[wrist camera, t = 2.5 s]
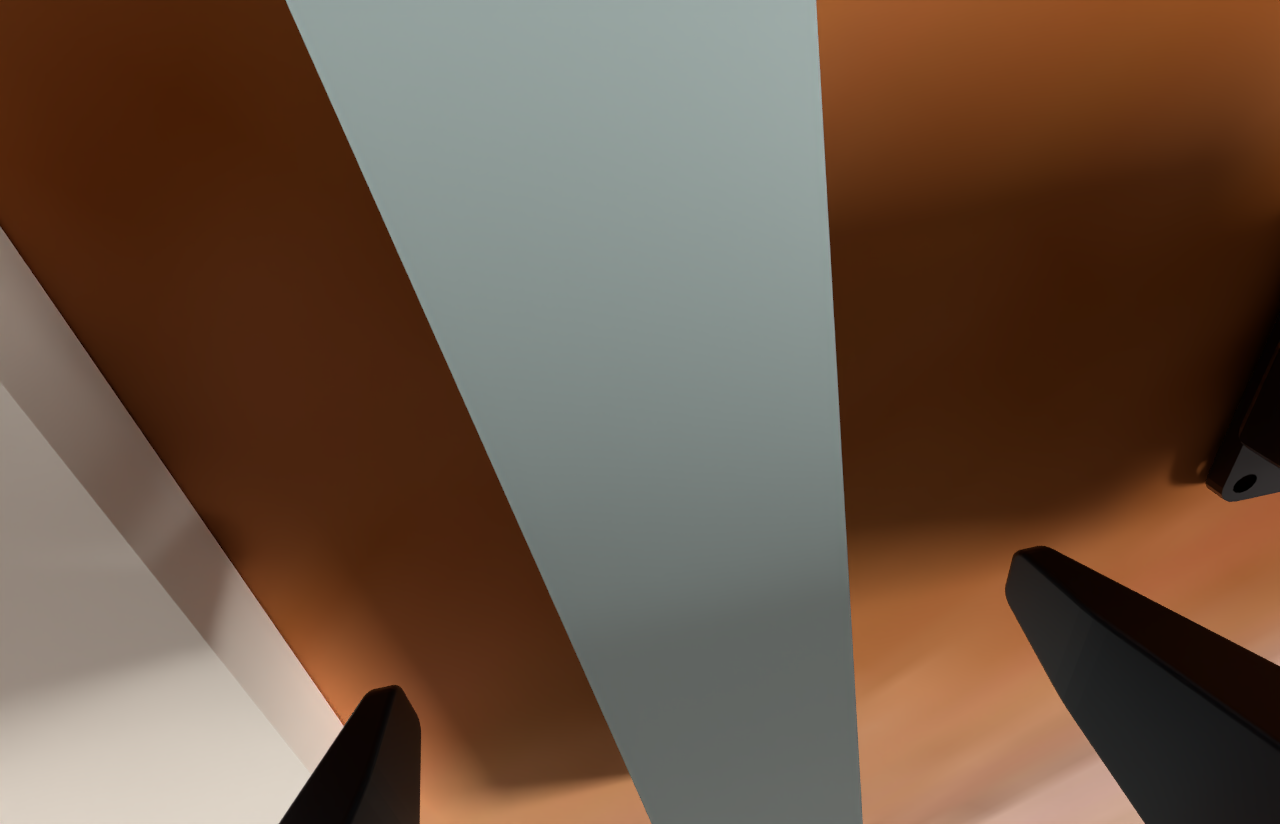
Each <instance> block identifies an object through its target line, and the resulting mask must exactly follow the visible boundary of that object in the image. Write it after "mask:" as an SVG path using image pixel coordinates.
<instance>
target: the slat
mask: <svg viewBox="0 0 1280 824" xmlns="http://www.w3.org/2000/svg"><path fill="white" fill-rule="evenodd" d="M286 2H287V5H288V7H289V9H290V11H291V14H292V16H293V18H294V20H295V23H296V25H297V27H298V29H299V32H300V34H301V36H302V38H303V41H304V43H305V45H306V47H307V50H308V52H309V54H310V56H311V59H312V61H313V63H314V65H315V68H316V70H317V72H318V74H319V77H320V79H321V81H322V83H323V85H324V88H325V90H326V92H327V94H328V97H329V99H330V101H331V103H332V106H333V108H334V110H335V112H336V115H337V117H338V119H339V121H340V124H341V126H342V128H343V130H344V133H345V135H346V137H347V139H348V142H349V144H350V146H351V148H352V151H353V153H354V155H355V157H356V160H357V162H358V164H359V166H360V169H361V171H362V173H363V175H364V178H365V180H366V182H367V184H368V187H369V189H370V191H371V193H372V196H373V198H374V200H375V202H376V205H377V207H378V209H379V211H380V214H381V216H382V218H383V220H384V223H385V225H386V227H387V229H388V232H389V234H390V236H391V238H392V241H393V243H394V245H395V247H396V250H397V252H398V254H399V256H400V259H401V261H402V263H403V265H404V268H405V270H406V272H407V274H408V277H409V279H410V281H411V283H412V286H413V288H414V290H415V292H416V295H417V297H418V299H419V301H420V304H421V306H422V308H423V310H424V313H425V315H426V317H427V319H428V322H429V324H430V326H431V328H432V331H433V333H434V335H435V337H436V340H437V342H438V344H439V346H440V349H441V351H442V353H443V355H444V358H445V360H446V362H447V364H448V367H449V369H450V371H451V373H452V376H453V378H454V380H455V382H456V385H457V387H458V389H459V391H460V394H461V396H462V398H463V400H464V403H465V405H466V407H467V409H468V412H469V414H470V416H471V418H472V421H473V423H474V425H475V427H476V430H477V432H478V434H479V436H480V439H481V441H482V443H483V445H484V448H485V450H486V452H487V454H488V456H489V459H490V461H491V463H492V465H493V468H494V470H495V472H496V474H497V477H498V479H499V481H500V483H501V486H502V488H503V490H504V492H505V495H506V497H507V499H508V501H509V504H510V506H511V508H512V510H513V513H514V515H515V517H516V519H517V522H518V524H519V526H520V528H521V531H522V533H523V535H524V537H525V540H526V542H527V544H528V546H529V549H530V551H531V553H532V555H533V558H534V560H535V562H536V564H537V567H538V569H539V571H540V573H541V576H542V578H543V580H544V582H545V585H546V587H547V589H548V591H549V594H550V596H551V598H552V600H553V603H554V605H555V607H556V609H557V612H558V614H559V616H560V618H561V621H562V623H563V625H564V627H565V630H566V632H567V634H568V636H569V639H570V641H571V643H572V645H573V648H574V650H575V652H576V654H577V657H578V659H579V661H580V663H581V666H582V668H583V670H584V672H585V675H586V677H587V679H588V681H589V684H590V686H591V688H592V690H593V693H594V695H595V697H596V699H597V702H598V704H599V706H600V708H601V711H602V713H603V715H604V717H605V720H606V722H607V724H608V726H609V729H610V731H611V733H612V735H613V738H614V740H615V742H616V744H617V747H618V749H619V751H620V753H621V756H622V758H623V760H624V762H625V765H626V767H627V769H628V771H629V774H630V776H631V778H632V780H633V783H634V785H635V787H636V789H637V792H638V794H639V796H640V798H641V801H642V803H643V805H644V807H645V810H646V812H647V814H648V816H649V818H650V821H651V823H652V824H863V821H862V803H861V785H860V768H859V750H858V732H857V715H856V697H855V680H854V662H853V644H852V627H851V609H850V591H849V574H848V556H847V538H846V521H845V503H844V485H843V468H842V450H841V433H840V415H839V397H838V380H837V362H836V344H835V327H834V309H833V291H832V274H831V256H830V239H829V221H828V203H827V186H826V168H825V150H824V133H823V115H822V97H821V80H820V62H819V44H818V27H817V9H816V0H286Z"/></svg>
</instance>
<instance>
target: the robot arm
mask: <svg viewBox="0 0 1280 824" xmlns="http://www.w3.org/2000/svg"><path fill="white" fill-rule="evenodd" d="M1206 486H1207V488H1208V489H1210V490H1211V491H1213V492H1214V493H1215V494H1217V495H1218V496H1220V497H1221V498H1222V499H1224V500H1226V501H1228V502H1232V501H1240V500H1245V499H1249V498H1254V497H1258V496H1263V495H1268V494H1272V493H1277V492H1280V312H1279V314H1278V317H1277V319H1276V321H1275V324H1274V326H1273V328H1272V330H1271V333H1270V335H1269V337H1268V339H1267V342H1266V344H1265V346H1264V348H1263V351H1262V353H1261V355H1260V357H1259V360H1258V362H1257V364H1256V367H1255V369H1254V371H1253V373H1252V376H1251V378H1250V380H1249V382H1248V385H1247V387H1246V389H1245V391H1244V394H1243V396H1242V398H1241V401H1240V403H1239V405H1238V407H1237V410H1236V412H1235V414H1234V416H1233V419H1232V421H1231V423H1230V425H1229V428H1228V430H1227V432H1226V435H1225V437H1224V439H1223V441H1222V444H1221V446H1220V448H1219V450H1218V453H1217V455H1216V457H1215V459H1214V462H1213V464H1212V466H1211V468H1210V471H1209V473H1208V475H1207V478H1206ZM1005 594H1006V598H1007V601H1008V604H1009V606H1010V608H1011V609H1012V611H1013V613H1014V615H1015V617H1016V619H1017V620H1018V622H1019V624H1020V626H1021V628H1022V630H1023V631H1024V633H1025V635H1026V637H1027V639H1028V641H1029V642H1030V644H1031V646H1032V648H1033V650H1034V652H1035V653H1036V655H1037V657H1038V659H1039V661H1040V663H1041V664H1042V666H1043V668H1044V670H1045V672H1046V674H1047V675H1048V677H1049V679H1050V681H1051V683H1052V685H1053V686H1054V688H1055V690H1056V691H1057V693H1058V695H1059V697H1060V698H1061V700H1062V702H1063V703H1064V705H1065V706H1066V708H1067V709H1068V711H1069V712H1070V714H1071V716H1072V717H1073V719H1074V720H1075V721H1076V723H1077V724H1078V726H1079V727H1080V729H1081V730H1082V732H1083V733H1084V735H1085V736H1086V738H1087V739H1088V741H1089V742H1090V744H1091V745H1092V746H1093V748H1094V749H1095V751H1096V752H1097V754H1098V755H1099V757H1100V758H1101V760H1102V761H1103V763H1104V764H1105V766H1106V767H1107V768H1108V770H1109V771H1110V773H1111V774H1112V776H1113V777H1114V779H1115V780H1116V782H1117V783H1118V785H1119V786H1120V788H1121V789H1122V791H1123V792H1124V793H1125V795H1126V796H1127V798H1128V799H1129V801H1130V802H1131V804H1132V805H1133V807H1134V808H1135V810H1136V811H1137V813H1138V814H1139V816H1140V817H1141V818H1142V820H1143V821H1144V823H1145V824H1280V666H1278V665H1276V664H1274V663H1272V662H1270V661H1268V660H1267V659H1265V658H1263V657H1261V656H1259V655H1257V654H1255V653H1253V652H1251V651H1249V650H1247V649H1245V648H1243V647H1241V646H1239V645H1237V644H1236V643H1234V642H1232V641H1230V640H1228V639H1226V638H1224V637H1222V636H1220V635H1218V634H1216V633H1214V632H1212V631H1210V630H1208V629H1207V628H1205V627H1203V626H1201V625H1199V624H1197V623H1195V622H1193V621H1191V620H1189V619H1187V618H1185V617H1183V616H1181V615H1179V614H1178V613H1176V612H1174V611H1172V610H1170V609H1168V608H1166V607H1164V606H1162V605H1160V604H1158V603H1156V602H1154V601H1152V600H1150V599H1148V598H1147V597H1145V596H1143V595H1141V594H1139V593H1137V592H1135V591H1133V590H1131V589H1129V588H1127V587H1125V586H1123V585H1121V584H1119V583H1118V582H1116V581H1114V580H1112V579H1110V578H1108V577H1106V576H1104V575H1102V574H1100V573H1098V572H1096V571H1094V570H1092V569H1090V568H1089V567H1087V566H1085V565H1083V564H1081V563H1079V562H1077V561H1075V560H1073V559H1071V558H1069V557H1067V556H1065V555H1063V554H1061V553H1060V552H1058V551H1056V550H1054V549H1052V548H1049V547H1046V546H1036V547H1031V548H1027V549H1022V550H1018V551H1017V552H1016V553H1015V554H1014V555H1013V558H1012V562H1011V566H1010V570H1009V574H1008V578H1007V582H1006V586H1005ZM420 765H421V727H420V722H419V718H418V716H417V714H416V712H415V710H414V709H413V707H412V705H411V703H410V702H409V700H408V698H407V696H406V695H405V693H404V691H403V690H402V688H401V687H399V686H398V685H391V686H386V687H382V688H377V689H373V690H371V691H369V692H368V693H367V694H366V695H365V696H364V697H363V699H362V700H361V702H360V703H359V704H358V706H357V707H356V709H355V710H354V712H353V713H352V715H351V716H350V718H349V719H348V721H347V722H346V724H345V725H344V727H343V728H342V730H341V731H340V733H339V734H338V736H337V737H336V739H335V740H334V742H333V743H332V745H331V746H330V748H329V749H328V751H327V752H326V754H325V755H324V757H323V758H322V760H321V761H320V763H319V764H318V766H317V767H316V769H315V770H314V772H313V773H312V775H311V776H310V778H309V779H308V780H307V782H306V783H305V785H304V786H303V788H302V789H301V791H300V792H299V794H298V795H297V797H296V798H295V800H294V801H293V803H292V804H291V806H290V807H289V809H288V810H287V812H286V813H285V815H284V816H283V818H282V819H281V821H280V822H279V824H420Z"/></svg>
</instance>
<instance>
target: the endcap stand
mask: <svg viewBox="0 0 1280 824" xmlns="http://www.w3.org/2000/svg"><path fill="white" fill-rule="evenodd" d="M343 727H344V726H343V724H342V723H341V722H340V720H339V719H338V717H337V716H336V714H335V713H334V711H333V710H332V708H331V707H330V706H329V704H328V703H327V701H326V700H325V698H324V697H323V695H322V694H321V692H320V691H319V690H318V688H317V687H316V685H315V684H314V682H313V681H312V679H311V678H310V676H309V675H308V674H307V672H306V671H305V669H304V668H303V666H302V665H301V663H300V662H299V660H298V659H297V658H296V656H295V655H294V653H293V652H292V650H291V649H290V647H289V646H288V644H287V643H286V642H285V640H284V639H283V637H282V636H281V634H280V633H279V631H278V630H277V628H276V627H275V626H274V624H273V623H272V621H271V620H270V618H269V617H268V615H267V614H266V612H265V611H264V610H263V608H262V607H261V605H260V604H259V602H258V601H257V599H256V598H255V596H254V595H253V593H252V592H251V591H250V589H249V588H248V586H247V585H246V583H245V582H244V580H243V579H242V577H241V576H240V575H239V573H238V572H237V570H236V569H235V567H234V566H233V564H232V563H231V561H230V560H229V559H228V557H227V556H226V554H225V553H224V551H223V550H222V548H221V547H220V545H219V544H218V543H217V541H216V540H215V538H214V537H213V535H212V534H211V532H210V531H209V529H208V528H207V527H206V525H205V524H204V522H203V521H202V519H201V518H200V516H199V515H198V513H197V512H196V511H195V509H194V508H193V506H192V505H191V503H190V502H189V500H188V499H187V497H186V496H185V495H184V493H183V492H182V490H181V489H180V487H179V486H178V484H177V483H176V481H175V480H174V479H173V477H172V476H171V474H170V473H169V471H168V470H167V468H166V467H165V465H164V464H163V462H162V461H161V460H160V458H159V457H158V455H157V454H156V452H155V451H154V449H153V448H152V446H151V445H150V444H149V442H148V441H147V439H146V438H145V436H144V435H143V433H142V432H141V430H140V429H139V428H138V426H137V425H136V423H135V422H134V420H133V419H132V417H131V416H130V414H129V413H128V412H127V410H126V409H125V407H124V406H123V404H122V403H121V401H120V400H119V398H118V397H117V396H116V394H115V393H114V391H113V390H112V388H111V387H110V385H109V384H108V382H107V381H106V380H105V378H104V377H103V375H102V374H101V372H100V371H99V369H98V368H97V366H96V365H95V364H94V362H93V361H92V359H91V358H90V356H89V355H88V353H87V352H86V350H85V349H84V348H83V346H82V345H81V343H80V342H79V340H78V339H77V337H76V336H75V334H74V333H73V331H72V330H71V329H70V327H69V326H68V324H67V323H66V321H65V320H64V318H63V317H62V315H61V314H60V313H59V311H58V310H57V308H56V307H55V305H54V304H53V302H52V301H51V299H50V298H49V297H48V295H47V294H46V292H45V291H44V289H43V288H42V286H41V285H40V283H39V282H38V281H37V279H36V278H35V276H34V275H33V273H32V272H31V270H30V269H29V267H28V266H27V265H26V263H25V262H24V260H23V259H22V257H21V256H20V254H19V253H18V251H17V250H16V249H15V247H14V246H13V244H12V243H11V241H10V240H9V238H8V237H7V235H6V234H5V233H4V231H3V230H2V228H1V227H0V824H279V822H280V821H281V819H282V818H283V816H284V815H285V813H286V812H287V810H288V809H289V807H290V806H291V804H292V803H293V801H294V800H295V798H296V797H297V795H298V794H299V792H300V791H301V789H302V788H303V786H304V785H305V783H306V782H307V780H308V779H309V778H310V776H311V775H312V773H313V772H314V770H315V769H316V767H317V766H318V764H319V763H320V761H321V760H322V758H323V757H324V755H325V754H326V752H327V751H328V749H329V748H330V746H331V745H332V743H333V742H334V740H335V739H336V737H337V736H338V734H339V733H340V731H341V730H342V728H343Z"/></svg>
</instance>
